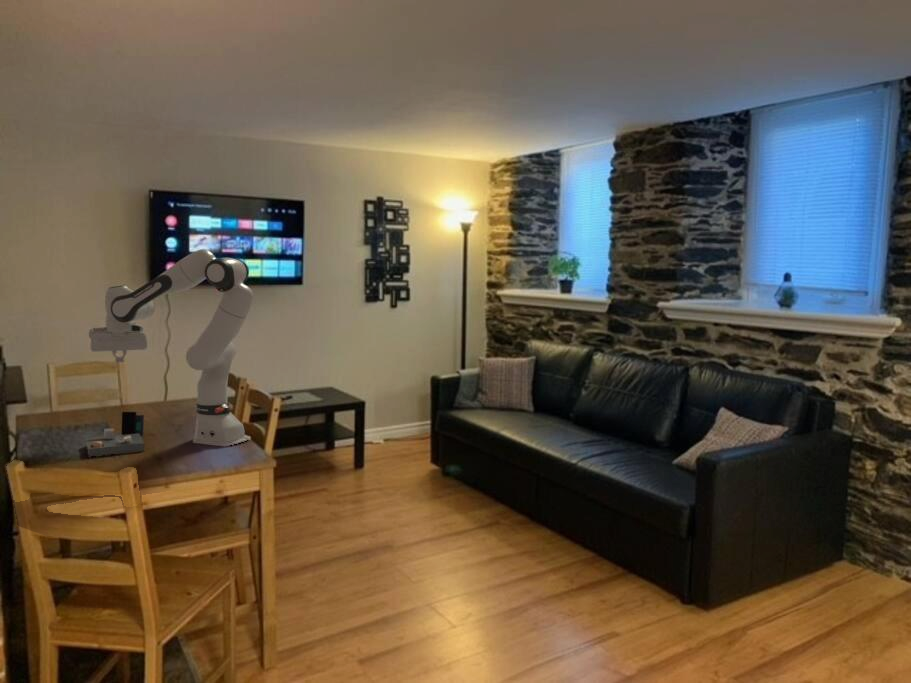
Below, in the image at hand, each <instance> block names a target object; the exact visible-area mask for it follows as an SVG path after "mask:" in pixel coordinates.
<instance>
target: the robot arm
mask: <svg viewBox="0 0 911 683" xmlns="http://www.w3.org/2000/svg"><path fill="white" fill-rule="evenodd" d="M249 275H250V270H249V267H248V265H247V263H246V262H245V261H243V260H242V259H240V258H235V257H220V258H219V257H217V258H216V256H215V255H214V254H213V253H212V252H211V251H210V250H207V249H203V248H201V249H198V250H195V251H193V252H192V253H190V254H188V255H185V257H183V258H182V259H180V260H178V261H177V262H176V263H175V264H173V265H172V266H170V267H169V268H168V269H166V270H165V271H163V272H162V273H161V274H159V275H158V276H156V277H155V278H153V279H152V280H150V281H148V282H147V283H145V284H143V285H142V286H140V287H138V288H137V289H136V290H132V289H130V287H128V286H127V285H118V286H110V287H109V288H107V289H106V291H105V298H104V306H105V307H104V308H105V311H106V315H105V326H104V327H102V326H101V327H92V328H91V329H90V330H89V331H88V337H89V339H90V343H89V344H90V348H89V350H90V351H91V352H111V353H112V355H113V356H114V358H115V363H123V362H125V357H126V355H127V354H128V351H142V350H147V348H148V340H147V335H146V334H145V332H144V326H143V325H141V324H139V323H136V322H132V321H139V320H144V319H148V318H150V317H151V316H153V314H154V312H155V302H154V300H156V299H157V298H159V297H160V298H161V297H162V296H165V295H169V294H174V293H181V292H185V291H186V292H187V291H188V290H190V289H193V288H195V287H196V286H198V285H199V284H201V283H202V282H203V281H205V280H207V282H208V283H209V284H210V285H212V286H213V287H214V288H215V289H216V290H217V291H218V292H220V293H222V297H221V299H220V302H218V306H217V308H216V310H215V312H214V314H213V316H212V318H211V320H210V322H209V323H208V325H207V327H205V329H204V330H203V332H202V333H200V336H199V337H198V338H197V340H196V341H195V342H194V344H192V345H191V346H190V347H189V348H188V350H187V351H186V353H185V354H186V355H185V359H186V363H187V364H188V366H189V367H190V368H191V369H193V370H198V371H202V372H201V375H200V378H199V380H198V381H197V383H196V384H197V386H196V387H197V390H196V391H197V403H196V406H195V408H196V413H197V417H196V420H195V428H194V429H195V430H194V437H193V439H192V443H193V444H199V445H206V446H207V445H209V446H216V447H217V446H218V447H231V446H230V445H232V446H235V445H234V444H237V445H239V444H238V443H241V442H244V441H247V440H249V441H251V440H252V438H251V436H250V435H247V434H245V427H244V424H243V423H242V422H241V421H240V420H239V419H238V417H236V416H235V415H234V414H233V413H232V409H233V405H230V403H229V401H228V382H229V375H230V370H231V366H232V361H233V360H234V358H235V356H236V351H237V350H236V349H237V348H236V346H235V345H234V343H233V342H232V341H234V339H235V338H236V337H238V336H237V335H238V334H239V332H240V330H241V328H242V327H243V324H244V322H245V320H246V318H247V315H248V314H249V311H250V309H251V305H252V303H253V299H254V292H253V291H252V289H251V288H250V287H249V286H248V285H246V284H245V282H246V281H247V280H248V277H249ZM118 351H121V352H122V356H117V355H116V354H117V352H118ZM247 442H248V441H247ZM244 443H245V442H244ZM241 444H242V443H241Z"/></svg>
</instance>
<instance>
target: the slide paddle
mask: <svg viewBox="0 0 911 683" xmlns="http://www.w3.org/2000/svg"><path fill="white" fill-rule="evenodd" d="M103 431H104V432H103V433H104V437H105V439H114V436H115V429H114V428H113V427H112V428H104V430H103Z"/></svg>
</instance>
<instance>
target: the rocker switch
mask: <svg viewBox="0 0 911 683" xmlns="http://www.w3.org/2000/svg"><path fill="white" fill-rule="evenodd" d="M130 440H132V438H131V435H130V436H126V437H122V438H118V442H119V443H122V442H124V443H126V442H127V441H130Z"/></svg>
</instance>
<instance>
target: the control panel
mask: <svg viewBox="0 0 911 683" xmlns="http://www.w3.org/2000/svg"><path fill="white" fill-rule="evenodd" d="M130 435H131V438H132V440H130V441H127V442H126V443H124V442H122V443H119V442H118V438H122V437H126V436H130ZM95 441H102V447H93V442H95ZM85 443H86V445H87V447H86V450H88V451H87V455H89V456H88V458H92V457H91V456H96V457H103V455H105V456H112V455H111V454H114V455H121V454H129V453H131V454H132V453H139V452H145V442H144V440H143V438H142V435H140V434H139V433H137V434H127V435H122V434H118V435H114V439H105V436H99V437H91V438H90V437H89V438H85Z"/></svg>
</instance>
